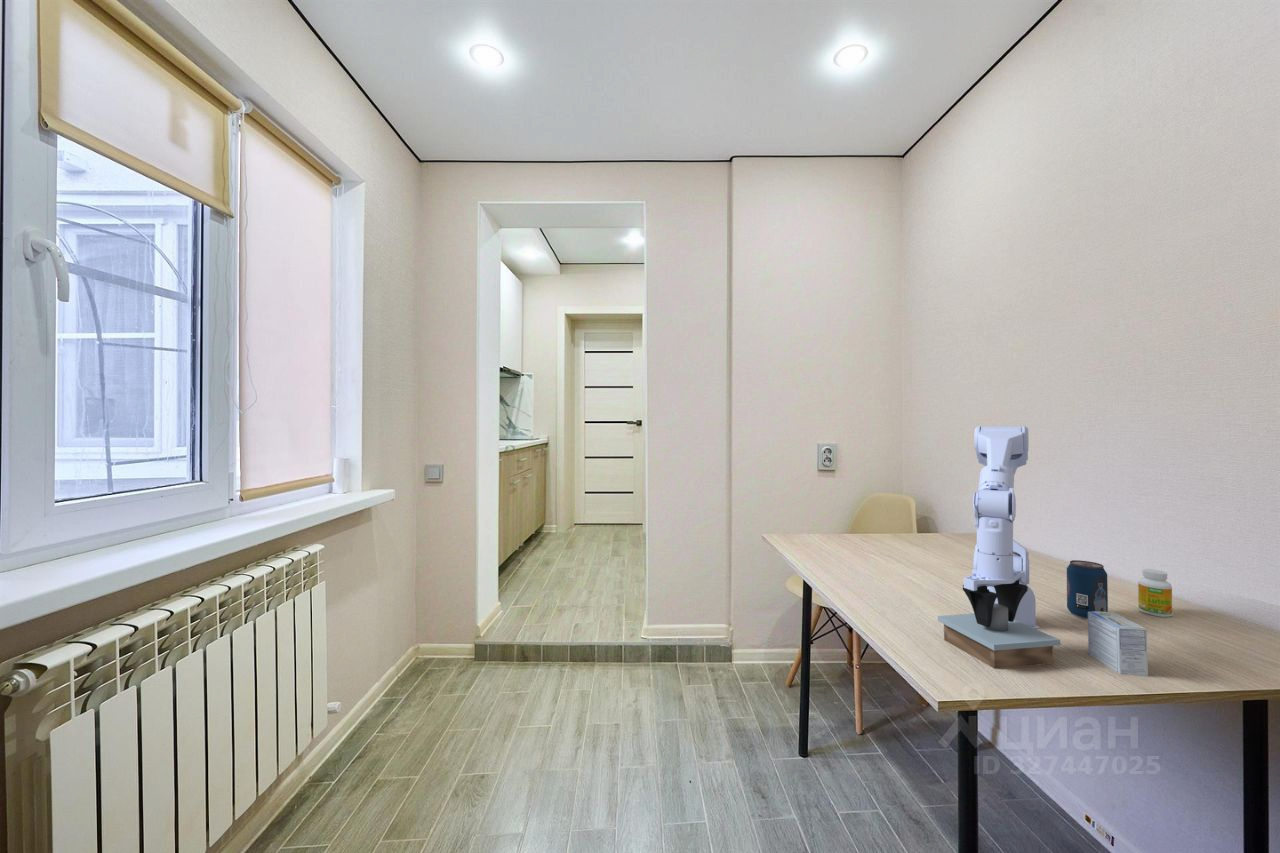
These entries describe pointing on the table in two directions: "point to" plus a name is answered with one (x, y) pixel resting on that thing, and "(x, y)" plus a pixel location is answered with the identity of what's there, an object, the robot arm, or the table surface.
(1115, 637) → the medicine box
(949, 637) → the storage box
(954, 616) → the lid
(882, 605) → the table surface
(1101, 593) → the soda can
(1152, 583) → the supplement bottle
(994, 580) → the robot arm
